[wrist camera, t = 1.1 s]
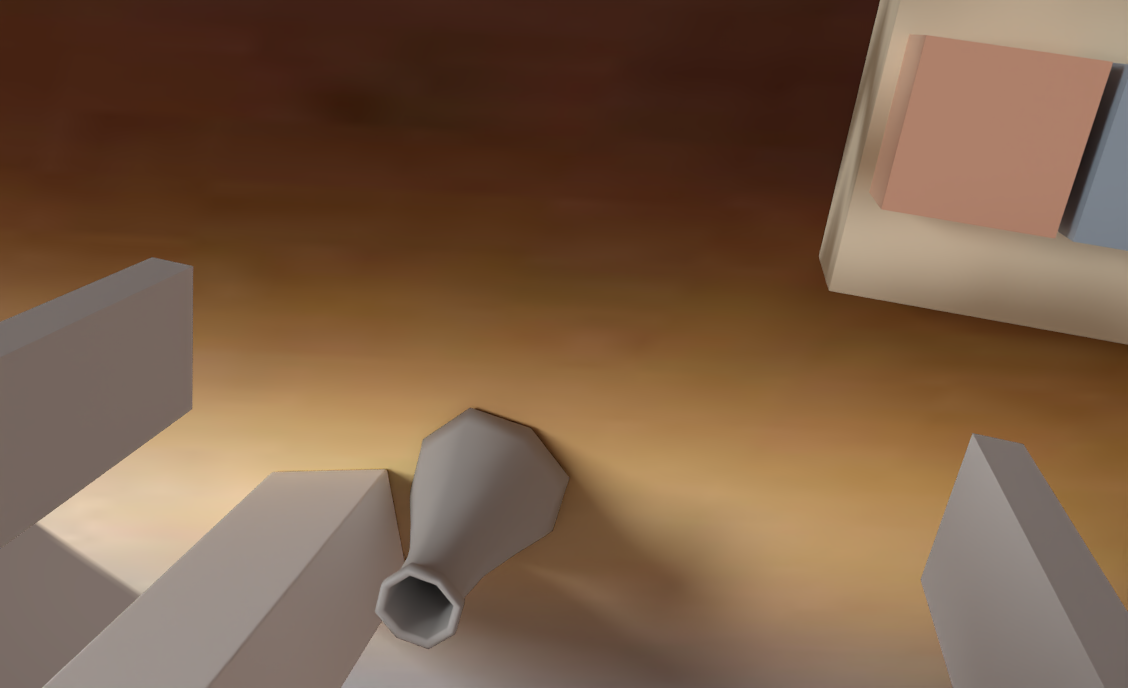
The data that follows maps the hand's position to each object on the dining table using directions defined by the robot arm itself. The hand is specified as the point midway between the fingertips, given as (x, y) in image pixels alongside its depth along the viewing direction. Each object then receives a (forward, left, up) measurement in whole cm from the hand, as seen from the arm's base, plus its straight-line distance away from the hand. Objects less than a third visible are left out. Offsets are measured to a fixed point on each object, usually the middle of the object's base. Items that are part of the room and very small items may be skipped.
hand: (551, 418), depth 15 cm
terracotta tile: (-4, +9, -18) cm, 21 cm away
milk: (+19, -13, -23) cm, 32 cm away
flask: (+15, -6, -23) cm, 28 cm away
